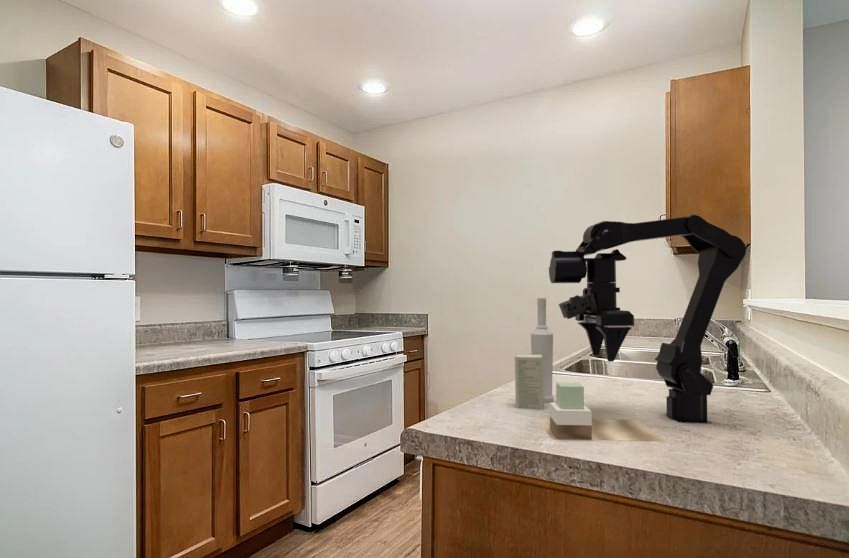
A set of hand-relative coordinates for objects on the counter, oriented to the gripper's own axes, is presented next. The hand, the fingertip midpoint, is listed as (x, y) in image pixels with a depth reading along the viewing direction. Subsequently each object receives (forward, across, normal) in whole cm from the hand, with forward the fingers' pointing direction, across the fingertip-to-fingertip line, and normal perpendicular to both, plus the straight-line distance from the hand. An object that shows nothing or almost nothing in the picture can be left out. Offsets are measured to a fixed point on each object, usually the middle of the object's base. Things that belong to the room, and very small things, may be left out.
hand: (602, 358), depth 99 cm
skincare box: (+13, -9, -14) cm, 21 cm away
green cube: (+7, +12, -10) cm, 17 cm away
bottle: (+13, -15, -10) cm, 22 cm away
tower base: (+12, +12, -10) cm, 20 cm away
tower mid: (+10, +12, -10) cm, 19 cm away
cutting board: (+13, +8, -4) cm, 16 cm away
